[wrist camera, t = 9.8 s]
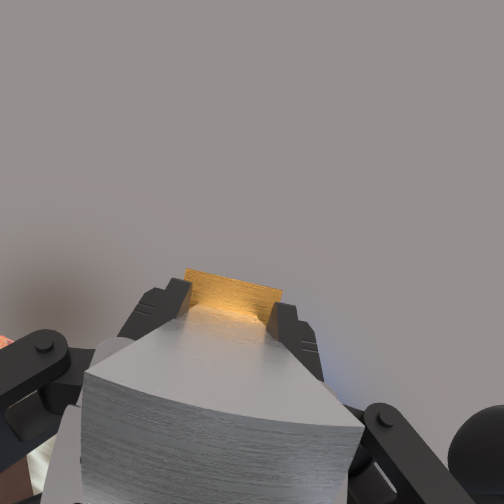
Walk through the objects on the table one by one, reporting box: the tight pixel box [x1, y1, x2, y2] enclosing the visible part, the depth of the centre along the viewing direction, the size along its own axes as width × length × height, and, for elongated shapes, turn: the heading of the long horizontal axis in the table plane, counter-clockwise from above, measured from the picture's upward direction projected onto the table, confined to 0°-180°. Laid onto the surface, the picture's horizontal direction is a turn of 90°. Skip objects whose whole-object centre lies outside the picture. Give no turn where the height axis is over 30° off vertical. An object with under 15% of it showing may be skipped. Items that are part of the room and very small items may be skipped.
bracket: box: [81, 268, 365, 504], centre depth 12 cm, size 5×20×4 cm, turn 4°
